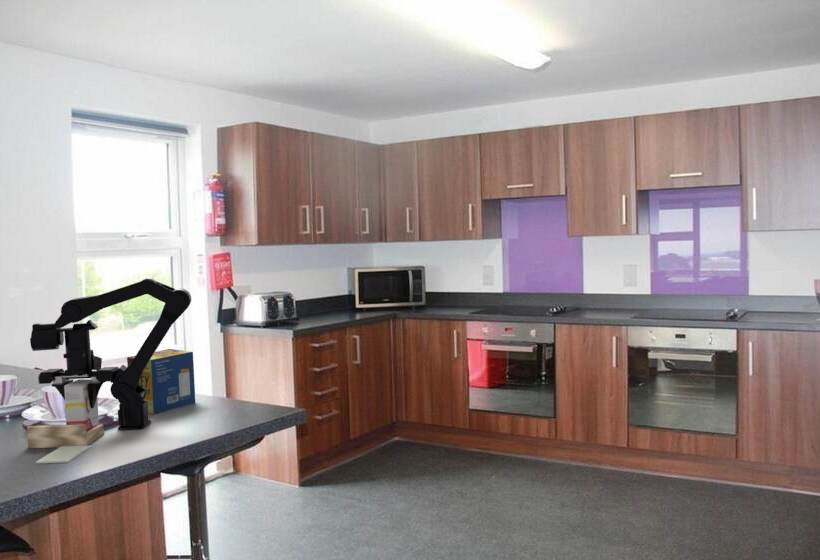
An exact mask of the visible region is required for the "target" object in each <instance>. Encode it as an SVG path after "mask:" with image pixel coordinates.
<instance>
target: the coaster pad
mask: <svg viewBox="0 0 820 560" xmlns="http://www.w3.org/2000/svg"><path fill="white" fill-rule="evenodd" d="M89 449H91V445H87V446H61V447H57V448H56V449H55V450H53V451H52V452H49V453H48V454H46V455H44V456H43V457H41V458H39V460H37V461H35V464H58V463H59V464H60V463H61V464H62V463H63V464H65V463H69V462H71V461H72V460H74V459H76V458H77V457H78V456H80V455H81V454H83V453H85V452H86V451H87V450H89Z"/></svg>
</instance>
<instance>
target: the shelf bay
mask: <svg viewBox="0 0 820 560" xmlns="http://www.w3.org/2000/svg"><path fill="white" fill-rule="evenodd" d="M104 435H105V429H104V424H101V423H98V424H96V425H95V426H93V427H92V428H90V429H89V430H87V431H86V424H82V425H66V424H57V425H56V424H53V425H50V424H49V425H29V426H27V427H26V438H27V448H28V449H41V448H43V449H44V448H45V449H46V448H59V447H61V446H89V445H90V444H92V442H94V441H95V440H97V439H99V438H101V437H102V436H104Z"/></svg>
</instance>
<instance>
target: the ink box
mask: <svg viewBox="0 0 820 560" xmlns="http://www.w3.org/2000/svg"><path fill="white" fill-rule="evenodd" d="M90 382H92V380H91V378H85V379H75V380H73V382H71V383H69V384H67V385H65V387H64V390H65V400H64V404H65V405H64V406H65V409H64V410H65V425H82V424H86V431H89V430H90V429H92V428H94V427H95V426H97V425H99V424H100V423H99V422H100V421H99V420H100V419H99V418H100V417H99V405H98V398H97V399H96V403H95V406H94V408H91V407H90V403H89V393H88V383H90Z"/></svg>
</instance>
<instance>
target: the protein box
mask: <svg viewBox="0 0 820 560" xmlns="http://www.w3.org/2000/svg"><path fill="white" fill-rule="evenodd" d="M135 356H136V355H133V356H127V357H126V361H127V367H128V366H129V365H130V363H131V362H132V361H133V359H134V358H135ZM194 367H195V366H194V351H190V350H189V351H188V350H183V349H182V350H181V349H173V348H168V349H162V350H158V351H155V352H154V354H153V356H152V357H151V359H150V360H149V362H148V363H147V365H146V367H145V368H144V371H143V374H142V376H141V379H140V381H139V384H138V385H140V386H141V387H142V388H143V389H145V390H146V391H147V393H146V396H145V398H144V400H143V401H148V415H156V414H160V413H163V412H167V411H170V410H174V409H178V408H182V407H184V406H188V405H191V404H195V403H196V392H195V391H196V388H195V387H196V386H195V371H194V370H195V368H194Z"/></svg>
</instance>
